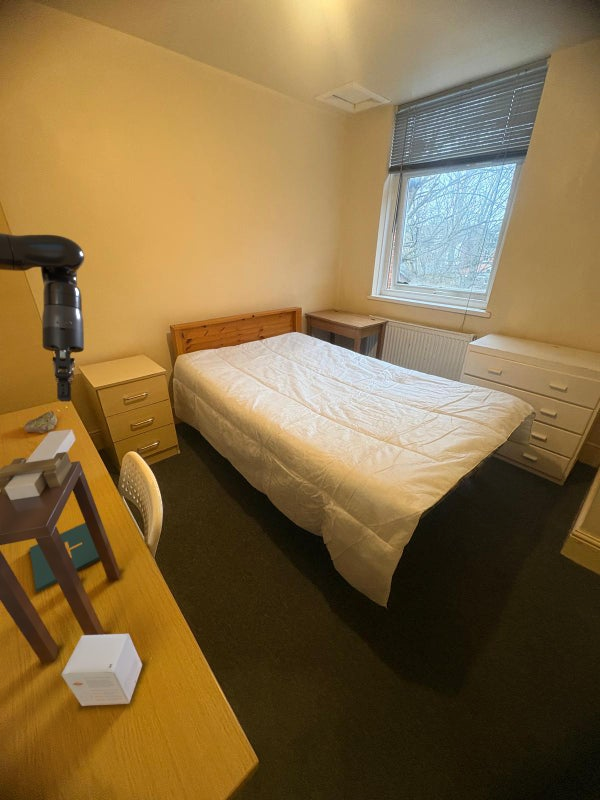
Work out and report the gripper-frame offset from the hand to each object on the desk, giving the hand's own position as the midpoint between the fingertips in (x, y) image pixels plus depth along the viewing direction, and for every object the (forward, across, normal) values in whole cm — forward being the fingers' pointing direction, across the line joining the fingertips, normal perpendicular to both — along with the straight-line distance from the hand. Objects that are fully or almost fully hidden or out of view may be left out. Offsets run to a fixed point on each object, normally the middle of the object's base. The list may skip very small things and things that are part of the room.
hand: (64, 400), depth 72 cm
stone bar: (+13, +14, -2) cm, 19 cm away
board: (+37, -10, 0) cm, 38 cm away
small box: (+51, +23, +7) cm, 56 cm away
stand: (+44, +7, +3) cm, 45 cm away
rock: (+8, -79, -10) cm, 80 cm away
